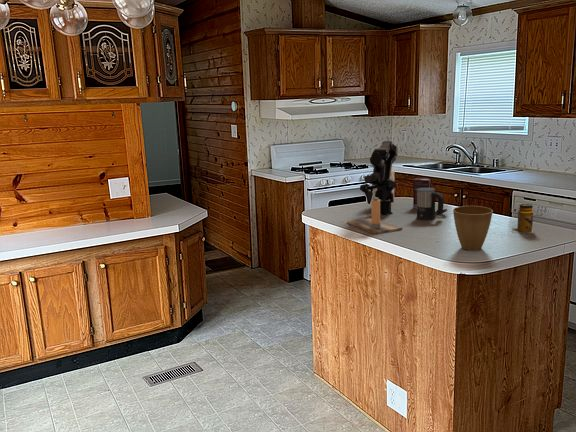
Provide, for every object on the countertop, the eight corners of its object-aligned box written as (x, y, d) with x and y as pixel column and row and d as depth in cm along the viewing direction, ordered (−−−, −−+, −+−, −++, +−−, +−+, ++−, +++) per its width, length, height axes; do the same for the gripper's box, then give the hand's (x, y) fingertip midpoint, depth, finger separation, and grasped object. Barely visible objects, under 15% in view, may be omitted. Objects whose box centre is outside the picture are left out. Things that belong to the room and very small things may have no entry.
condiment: (533, 233, 234) (535, 206, 231) (512, 232, 236) (514, 206, 234) (531, 229, 240) (533, 203, 238) (511, 228, 243) (512, 202, 240)
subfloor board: (373, 219, 272) (373, 217, 272) (402, 229, 249) (402, 227, 249) (347, 223, 266) (347, 221, 266) (374, 234, 244) (374, 232, 244)
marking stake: (372, 225, 255) (372, 197, 252) (380, 226, 254) (380, 197, 250) (371, 228, 251) (370, 198, 248) (379, 228, 250) (379, 198, 247)
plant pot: (445, 245, 222) (446, 207, 218) (477, 241, 225) (478, 204, 221) (464, 255, 207) (465, 215, 204) (498, 251, 211) (500, 211, 207)
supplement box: (430, 207, 294) (430, 178, 290) (428, 209, 290) (429, 180, 286) (414, 206, 297) (414, 178, 294) (412, 208, 293) (412, 179, 290)
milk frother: (414, 219, 268) (414, 190, 265) (420, 212, 282) (420, 185, 279) (443, 221, 262) (444, 191, 259) (448, 214, 276) (449, 185, 273)
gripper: (353, 171, 268) (350, 200, 264) (383, 163, 254) (380, 195, 250) (368, 178, 275) (365, 206, 271) (397, 171, 261) (395, 201, 257)
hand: (376, 202), depth 262 cm, fingers open, 9 cm apart
